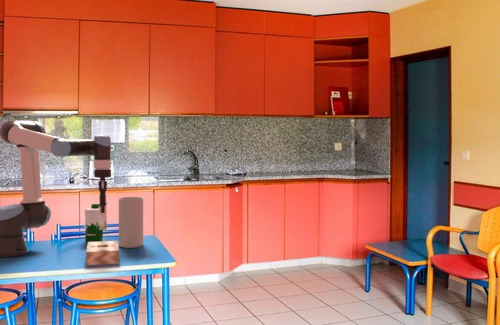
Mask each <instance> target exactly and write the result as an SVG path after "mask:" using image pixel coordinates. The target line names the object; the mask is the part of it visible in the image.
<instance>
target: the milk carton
mask: <svg viewBox="0 0 500 325" xmlns="http://www.w3.org/2000/svg"><path fill="white" fill-rule="evenodd" d="M98 205H99V204H98V203H92V204H91V207H88V208H85V209H84V219H85V220H84V230H85V232H84V234H85V235H84V236H85V237H84V239H85V240H84V241H85V243H88V242H100V241H104V240H103V239H104V236H103V235H104V230H99V206H98Z"/></svg>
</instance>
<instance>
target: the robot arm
mask: <svg viewBox="0 0 500 325" xmlns="http://www.w3.org/2000/svg"><path fill="white" fill-rule="evenodd" d="M0 138H1V139H0V140H2V141H3V142H4V143H6V144H11V145H14V146H16V149H17V150H18V151H19V155H20V169H21V170H20V171H21V182H22V183H21V184H22V185H21V186H22V200H21V201H20V202H19V203H13V204H6V205H3V206H0V258H14V257H20V256H24V255H27V254H28V252H29V250H28V246H27V243H26V241H25V238H24V237H25V236H24V231H25V230H29V229H39V228H40V227H43V226H45V225H47V224H48V223H49V221H50V219H51V217H52V211H51V208H50V207H49V205H48V204H47V203H46V200H45V199H44V198H43V197H42V184H41V183H42V181H41V169H40V167H41V166H40V152H39V151H44V152H47V153H52V154H53V156H55V157H61V158H65V157H85V156H86V157H89V156H90V157H93V169H94V171H93V175H94V176H93V177H94V178H97V179H98V178H99V181H98V182H97V184H98V192H99V195H100V205H98V206H100V220H106V216H107V205H108V202H107V194H106V192H107V190H108V187H107V186H108V181H107V180H106V178H107V179H108V178H111V177H112V170H111V168H112V165H111V164H113V161H111V160H112V141H111V140H112V139H111V136H109V135H94V137H93V139H65V138H62V137H58V136H54V135H51V134H47V132H46V129H45V127H44V125H43V124H41V123H40V122H38V121H35V120H15V119H13V120H8V121H6V122H3V123H2V125H1V126H0Z"/></svg>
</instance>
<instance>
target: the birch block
mask: <svg viewBox="0 0 500 325" xmlns="http://www.w3.org/2000/svg"><path fill="white" fill-rule="evenodd" d="M119 248H120V246H119V240H102V241H100V242H87V245H86V251H85V252H86V253H85V256H86V257H85V258H86V259H85V264H86V265H85V266H97V265H98V266H100V265H103V266H104V265H115V264H116V265H117V264H119V263H120V249H119Z"/></svg>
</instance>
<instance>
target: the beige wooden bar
mask: <svg viewBox="0 0 500 325" xmlns="http://www.w3.org/2000/svg"><path fill="white" fill-rule="evenodd" d="M98 203H99V205H100V194H99V196H98ZM107 221H108V220H107V215H106V220H100V206H99V230H103V231H104V230H107V224H108V223H107Z"/></svg>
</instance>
